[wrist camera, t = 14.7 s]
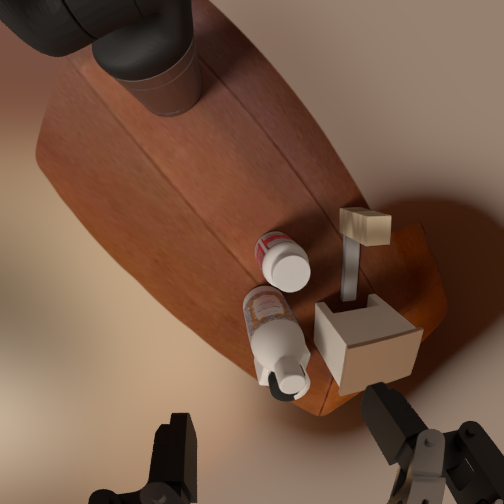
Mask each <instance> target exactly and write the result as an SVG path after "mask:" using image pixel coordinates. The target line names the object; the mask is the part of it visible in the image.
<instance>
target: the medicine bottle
mask: <svg viewBox="0 0 504 504" xmlns="http://www.w3.org/2000/svg"><path fill="white" fill-rule="evenodd" d="M309 358H310V352H309V350H308V348H307V346H306V344H305V351H304V354H303V357H302V359H301V361H300V363H299V364H300V367H301V369H302V371H303V374H304V376H305V378H306V385H305V387H304V388H303V389H302V390H301V391H299V392H297V393H294V394H286V393H283V392H282V391H281V390H280V388H279V385H278V382H277V378H276V375H275V372H273V371H270V370H268V369H266V368H264V367H263V366H262V365H261V364H260V363H259V362H258V361H257V360H256V358H254V363H255V368H256V373H257V377H258V382H259V384H260V385H268V386H269V387H270V391H271V394H272V396H273V397H274V398H275V399H278V400H280V401H293V400H296V399H298V398H300V397H302V396H303V395H304V394H305V393H306V392H307V391H308V389H309V387H310V379H309V377H308V375H307V373H306V370H305V369H306V366H307V364H308V361H309Z"/></svg>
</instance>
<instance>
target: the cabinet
mask: <svg viewBox="0 0 504 504" xmlns="http://www.w3.org/2000/svg"><path fill="white" fill-rule="evenodd" d="M423 330H424V329H423V328H421V327H419V328H416V327H414V326H413V325H412V324H411V323H410V322H409V321H407V320H406V319H405V318H404V317H403V316H401V315H400V314H399V313H398V312H397V311H395V310H394V309H393V308H392V307H391V306H389V305H388V304H387V303H386V302H385V301H383V300H382V299H381V298H380V297H379V296H377V295H376V294H370V295H368V302H367V308H362V309H357V310H351V311H345V312H340V313H332V312H331V310H330V309H329V308H328V307H327V305H326V304H325V303H324V302H318V303H316V304H315V325H314V343H315V345H316V346H317V348H318V350H319V352H320V353H321V355H322V357H323V359H324V361H325V362H326V364H327V366H328V368H329V369H330V371H331V373H332V375H333V377H334V378H335V380H336V382H337V384H338V385H339V392H338V393H339V395H340V396H343V395H347V394H351V393H355V392H358V391H362V390H365V389H366V387H367V386H368V385H371V384H375V383H378V382H384V383H388V382H391V381H394V380H397V379H400V378H403V377H405V376H408V375H410V374H411V371H412V368H413V365H414V362H415V358H416V355H417V351H418V348H419V345H420V341H421V337H422V334H423Z"/></svg>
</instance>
